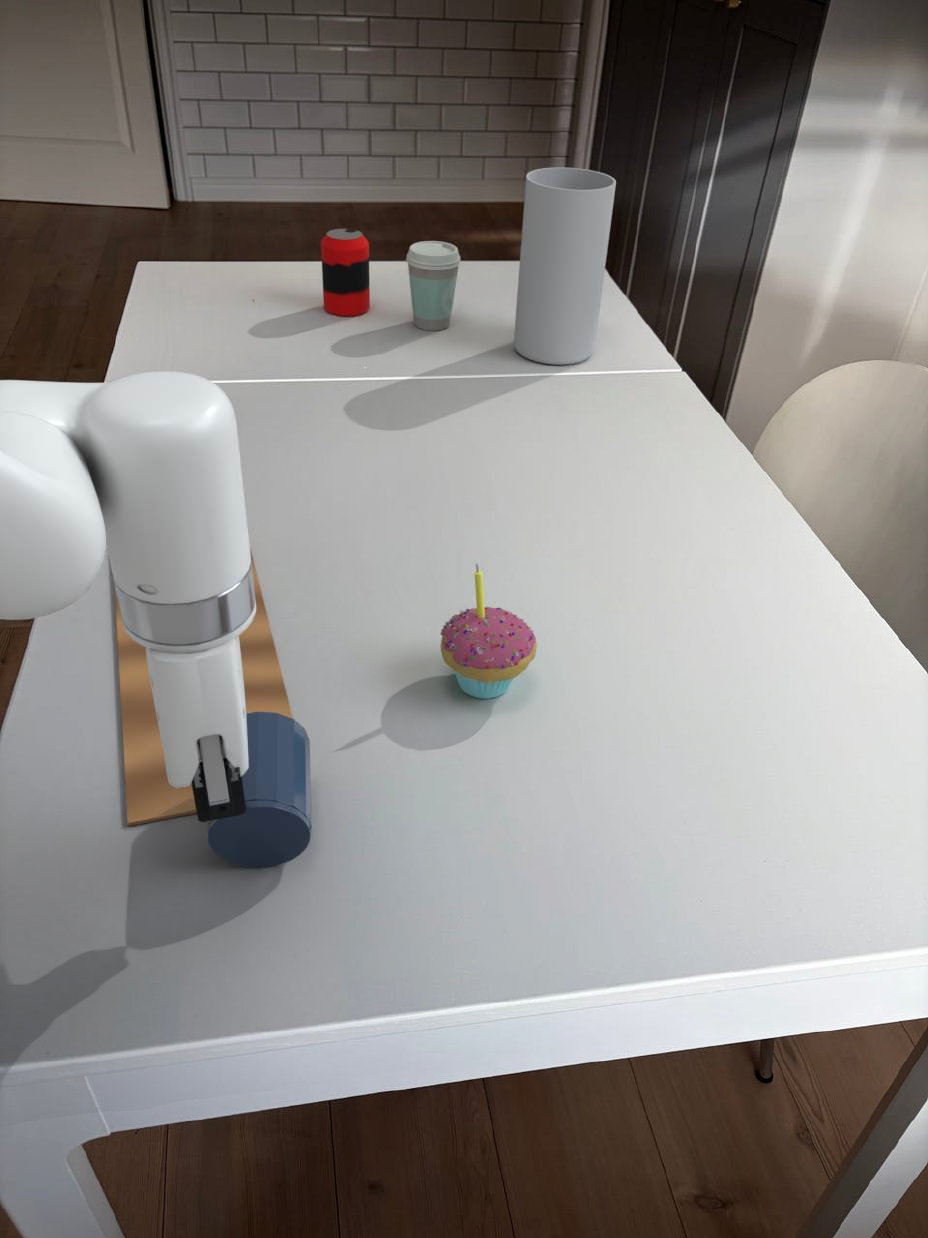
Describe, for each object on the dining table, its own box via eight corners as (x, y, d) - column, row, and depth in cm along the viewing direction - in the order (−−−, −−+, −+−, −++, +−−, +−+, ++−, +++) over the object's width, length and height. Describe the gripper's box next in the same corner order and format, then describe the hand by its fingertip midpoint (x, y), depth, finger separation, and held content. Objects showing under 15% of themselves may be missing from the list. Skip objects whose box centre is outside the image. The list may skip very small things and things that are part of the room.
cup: (295, 797, 68) (295, 703, 75) (193, 818, 68) (202, 722, 75) (321, 857, 73) (318, 763, 80) (225, 876, 73) (231, 781, 80)
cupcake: (419, 677, 91) (421, 569, 83) (486, 640, 95) (494, 535, 88) (484, 727, 86) (492, 617, 78) (551, 685, 91) (565, 578, 83)
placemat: (310, 791, 79) (310, 787, 79) (128, 826, 76) (127, 823, 75) (245, 529, 109) (245, 526, 109) (112, 546, 106) (111, 542, 105)
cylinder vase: (545, 372, 146) (563, 194, 131) (497, 343, 154) (508, 172, 139) (610, 357, 152) (634, 184, 137) (560, 329, 160) (578, 163, 145)
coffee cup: (446, 337, 155) (449, 260, 148) (396, 328, 158) (397, 251, 150) (466, 319, 162) (469, 244, 155) (417, 310, 164) (419, 236, 157)
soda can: (377, 305, 165) (376, 231, 158) (357, 320, 160) (355, 243, 152) (336, 297, 167) (334, 224, 160) (315, 312, 162) (311, 236, 154)
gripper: (115, 531, 61) (158, 744, 72) (122, 687, 50) (172, 911, 61) (238, 517, 63) (262, 726, 74) (272, 664, 52) (294, 885, 63)
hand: (221, 809), depth 67 cm, fingers closed
